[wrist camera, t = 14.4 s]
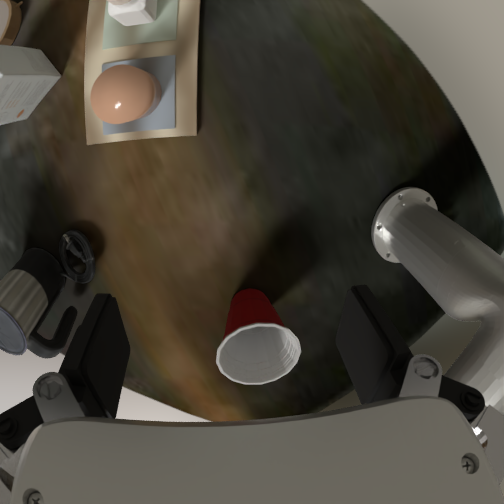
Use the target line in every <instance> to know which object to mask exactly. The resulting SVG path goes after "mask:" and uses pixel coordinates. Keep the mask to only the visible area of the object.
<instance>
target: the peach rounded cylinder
mask: <svg viewBox="0 0 504 504" xmlns="http://www.w3.org/2000/svg"><path fill="white" fill-rule="evenodd" d="M161 96H162V89H161V85H160V82H159V80H158V79H157V78H156V77H155V76H154V75H153V74H151V73H149V72H147V71H144V70H142V69H139V68H136V67H134V66H131V65H126V64H121V65H115V66H112V67H110V68H108V69H106V70H105V71H103V72H102V73H101V74H100V75H99V76H98V78H97V79H96V80H95V82H94V84H93V87H92V90H91V95H90V101H91V106H92V109H93V111H94V113H95V114H96V115H97V116H98V118H100V119H101V120H102V121H104V122H107V123H110V124H121V123H125V122H129V121H133V120H137V119H141V118H144V117H146V116H148V115H150V114H151V113H152V112H153V111H154V110H155V109H156V108H157V106H158V105H159V103H160V100H161Z"/></svg>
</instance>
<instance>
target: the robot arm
mask: <svg viewBox="0 0 504 504" xmlns="http://www.w3.org/2000/svg"><path fill="white" fill-rule="evenodd" d="M371 235H372V241H373V244H374V247H375V249H376V250H377V252H378V253H379V254H380V255H381V256H382V257H383V258H384V259H386V260H388V261H390V262H395V263H400V262H401V263H402V264H403V265H404V266H405V267H406V268H407V269H408V271H409V272H410V273H411V274H412V275H413V276H414V277H415V278H416V279H417V280H418V281H419V283H420V284H421V285H422V286H423V287H424V288H425V289H426V290H427V292H428V293H429V294H430V295H431V296H432V297H433V298H434V300H435V301H436V302H437V303H438V304H439V305H440V306H441V308H442V309H443V310H444V311H445V312H446V313H447V314H448V315H450V316H451V317H452V318H454V319H457V320H460V321H469V322H470V321H481V325H480V327H479V329H478V330H477V332H476V333H475V335H474V337H473V339H472V340H471V341H470V343H469V344H468V345H467V347H466V348H465V349H464V351H463V352H462V353H461V354H460V356H459V357H458V358H457V359H456V361H455V362H454V363H453V364H452V366H451V367H450V368H449V369H448V371H447V372H446V373H445V375H444V376H443V375H442V368H441V365H440V364H439V362H438V361H437V360H436V359H434V358H433V357H431V356H428V355H423V354H422V355H417V356H413V355H412V353H411V351H410V349H409V348H408V346H407V345H406V343H405V341H404V340H403V338H402V337H401V335H400V334H399V332H398V331H397V329H396V328H395V326H394V325H393V323H392V322H391V320H390V318H389V317H388V315H387V314H386V313H385V311H384V310H383V308H382V307H381V305H380V304H379V302H378V301H377V299H376V298H375V296H374V295H373V293H372V292H371V291H370V289H369V288H368V286H367V285H357V286H352V288H351V289H350V290H348V292H347V296H346V300H345V304H344V308H343V312H342V316H341V320H340V323H339V327H338V331H337V334H336V345H337V347H338V350H339V352H340V354H341V357H342V359H343V361H344V364H345V366H346V368H347V371H348V373H349V375H350V378H351V380H352V383H353V385H354V387H355V390H356V392H357V394H358V397H359V399H360V402H361V404H362V405H358V406H353V407H347V408H343V409H337V410H331V411H325V412H319V413H312V414H305V415H297V416H289V417H280V418H270V419H259V420H245V421H226V422H161V421H142V420H126V419H115V418H116V414H117V409H118V404H119V399H120V394H121V389H122V385H123V381H124V376H125V372H126V368H127V363H128V359H129V355H130V345H129V342H128V338H127V335H126V332H125V329H124V325H123V322H122V319H121V315H120V312H119V308H118V304H117V301H116V298H115V297H112V296H111V294H96V295H95V297H94V299H93V301H92V304H91V306H90V308H89V310H88V312H87V314H86V316H85V318H84V320H83V322H82V325H80V326H79V327H78V328H77V330H76V332H75V335H74V337H73V339H72V341H71V344H70V346H69V348H68V351H67V353H66V355H65V358H64V360H63V362H62V365H61V367H60V370H59V372H58V373H56V372H49V373H45V374H43V375H42V376H40V377H39V378H38V379H37V380H36V381H35V384H34V386H33V396H32V397H30V398H28V399H26V400H25V401H23V402H21V403H19V404H17V405H16V406H14V407H12V408H10V409H9V410H7V411H5V412H3V413H2V414H0V504H504V497H503V494H502V492H501V489H500V486H499V485H500V483H501V481H502V479H503V477H504V258H502V257H501V256H500V255H498V254H497V253H496V252H495V251H493V250H492V249H491V248H489V247H488V246H487V245H485V244H484V243H483V242H481V241H480V240H479V239H477V238H476V237H475V236H473V235H472V234H470V233H469V232H468V231H466V230H465V229H464V228H462V227H461V226H459V225H458V224H456V223H455V222H454V221H452V220H451V219H449V218H448V217H446V216H445V215H443V214H442V213H440V212H439V211H438V209H437V205H436V203H435V201H434V199H433V198H432V196H431V195H430V194H429V193H427V192H426V191H424V190H423V189H420V188H417V187H404V188H401V189H399V190H397V191H395V192H393V193H392V194H391V195H389V196H388V197H387V198H386V199H385V200H384V201H383V203H382V204H381V205H380V207H379V208H378V210H377V212H376V214H375V217H374V219H373V224H372V232H371Z"/></svg>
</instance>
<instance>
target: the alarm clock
mask: <svg viewBox="0 0 504 504" xmlns="http://www.w3.org/2000/svg"><path fill="white" fill-rule="evenodd" d="M22 3H23V2H22V1H21V2H19V3H18V4H17V3H16V2H14V1H11V0H0V45H9V46H11V45H12V43H13V42H14V40H15V38H16V35H17V33H18V31H19V28H20V24H21V19H22V18H21V9H20V7H19V6H20V5H21V4H22Z"/></svg>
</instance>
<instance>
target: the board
mask: <svg viewBox="0 0 504 504" xmlns="http://www.w3.org/2000/svg"><path fill="white" fill-rule="evenodd" d="M200 1H201V0H157V12H156V19H155V21H154V22H151V23H146V24H139V25H132V26H124V25H123V24H121V23H120V22H118V21H117V20H116V19H114V18H113V17H111V16H110V15H109V13H108V1H107V0H89V9H88V18H87V29H86V44H85V73H84V92H85V122H86V138H87V145H92V144H99V143H107V142H116V141H125V140H135V139H146V138H159V137H175V136H196V135H197V77H198V41H199V18H200ZM121 64H126V65H131V66H134V67H136V68H139V69H142V70H144V71H147V72H149V73H151V74H153V75H154V76H155V77H156V78H157V79H158V80H159V82H160V85H161V89H162V96H161V100H160V103H159V105H158V106H157V108H156V109H155V110H154V111H153V112H152V113H151V114H150V115H148V116H146V117H144V118H141V119H137V120H133V121H129V122H125V123H121V124H110V123H107V122H104V121H102V120H101V119H100V118H98V116H97V115H96V114H95V113H94V111H93V109H92V106H91V101H90V95H91V90H92V87H93V84H94V82H95V80H96V79H97V78H98V76H99V75H100V74H101V73H102V72H103V71H105V70H106V69H108V68H110V67H112V66H115V65H121Z"/></svg>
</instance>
